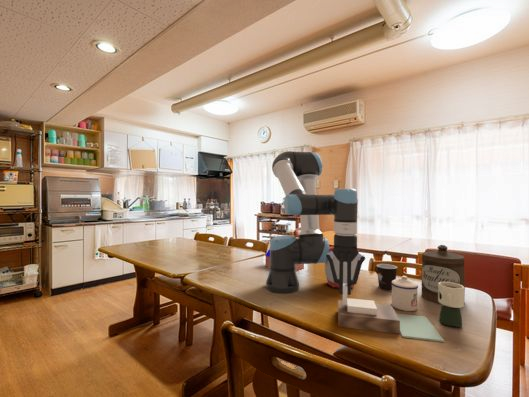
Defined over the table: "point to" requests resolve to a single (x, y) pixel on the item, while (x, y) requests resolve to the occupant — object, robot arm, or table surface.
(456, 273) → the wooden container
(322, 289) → the table surface
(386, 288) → the coffee mug
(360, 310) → the tile
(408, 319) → the mat
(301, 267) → the house
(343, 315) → the block
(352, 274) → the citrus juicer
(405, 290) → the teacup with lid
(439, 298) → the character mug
